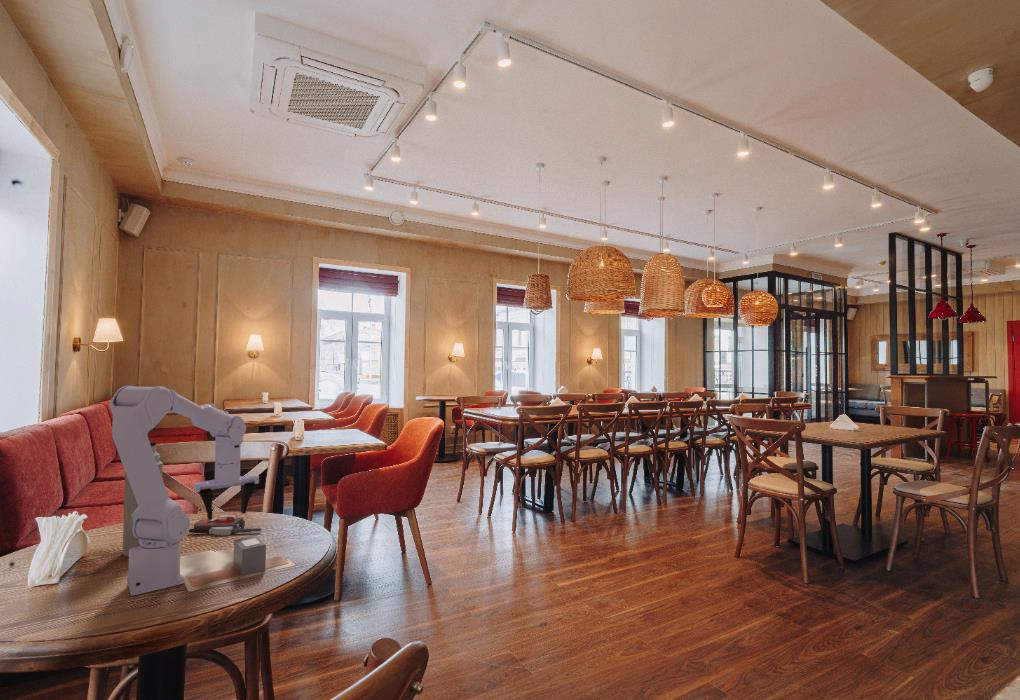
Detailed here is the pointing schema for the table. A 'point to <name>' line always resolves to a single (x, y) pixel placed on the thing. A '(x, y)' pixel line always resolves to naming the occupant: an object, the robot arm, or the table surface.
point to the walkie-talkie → (221, 526)
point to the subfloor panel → (218, 568)
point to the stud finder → (249, 555)
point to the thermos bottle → (133, 508)
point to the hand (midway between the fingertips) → (226, 515)
